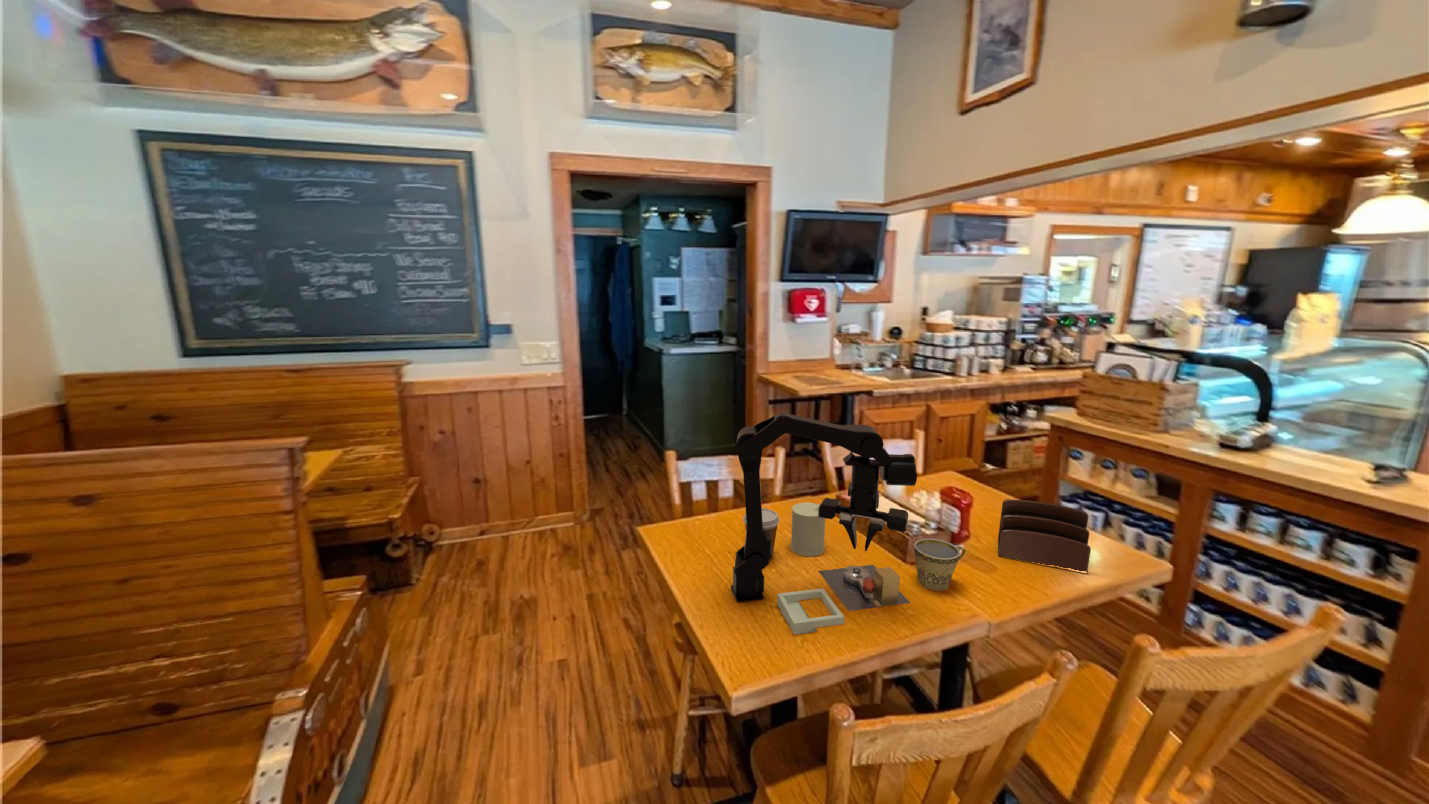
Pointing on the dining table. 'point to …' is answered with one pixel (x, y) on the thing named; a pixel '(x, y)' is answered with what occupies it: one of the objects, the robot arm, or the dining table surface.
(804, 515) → the can
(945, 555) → the ceramic cup
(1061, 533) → the letter holder
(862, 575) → the crank
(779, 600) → the tray
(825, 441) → the robot arm
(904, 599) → the machine bed
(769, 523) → the disposable coffee cup
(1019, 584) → the dining table surface
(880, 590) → the block
